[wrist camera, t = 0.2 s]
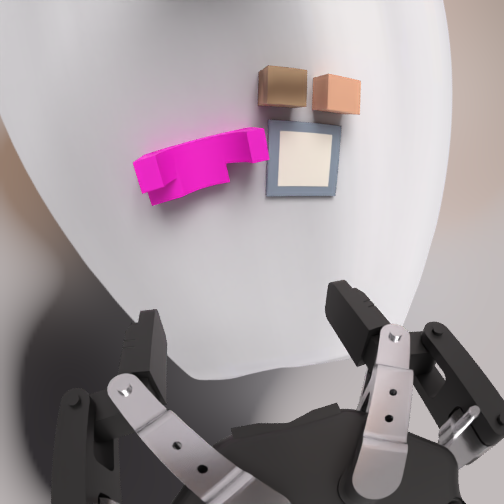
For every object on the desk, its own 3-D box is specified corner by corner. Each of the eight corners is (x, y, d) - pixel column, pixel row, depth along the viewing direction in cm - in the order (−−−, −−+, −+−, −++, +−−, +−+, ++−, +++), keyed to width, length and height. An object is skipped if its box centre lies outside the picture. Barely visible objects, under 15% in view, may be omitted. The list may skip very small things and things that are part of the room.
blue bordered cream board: (268, 119, 35) (270, 119, 34) (338, 125, 37) (341, 126, 36) (265, 194, 40) (267, 196, 39) (332, 194, 42) (335, 196, 41)
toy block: (156, 196, 37) (148, 213, 30) (143, 155, 34) (132, 162, 27) (258, 169, 38) (273, 180, 32) (250, 126, 35) (263, 128, 29)
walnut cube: (258, 72, 32) (268, 65, 27) (293, 75, 33) (307, 70, 28) (257, 105, 34) (267, 103, 30) (292, 107, 35) (306, 106, 31)
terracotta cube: (312, 78, 33) (328, 73, 29) (342, 83, 34) (360, 80, 30) (311, 109, 35) (327, 109, 31) (341, 113, 36) (359, 114, 32)
